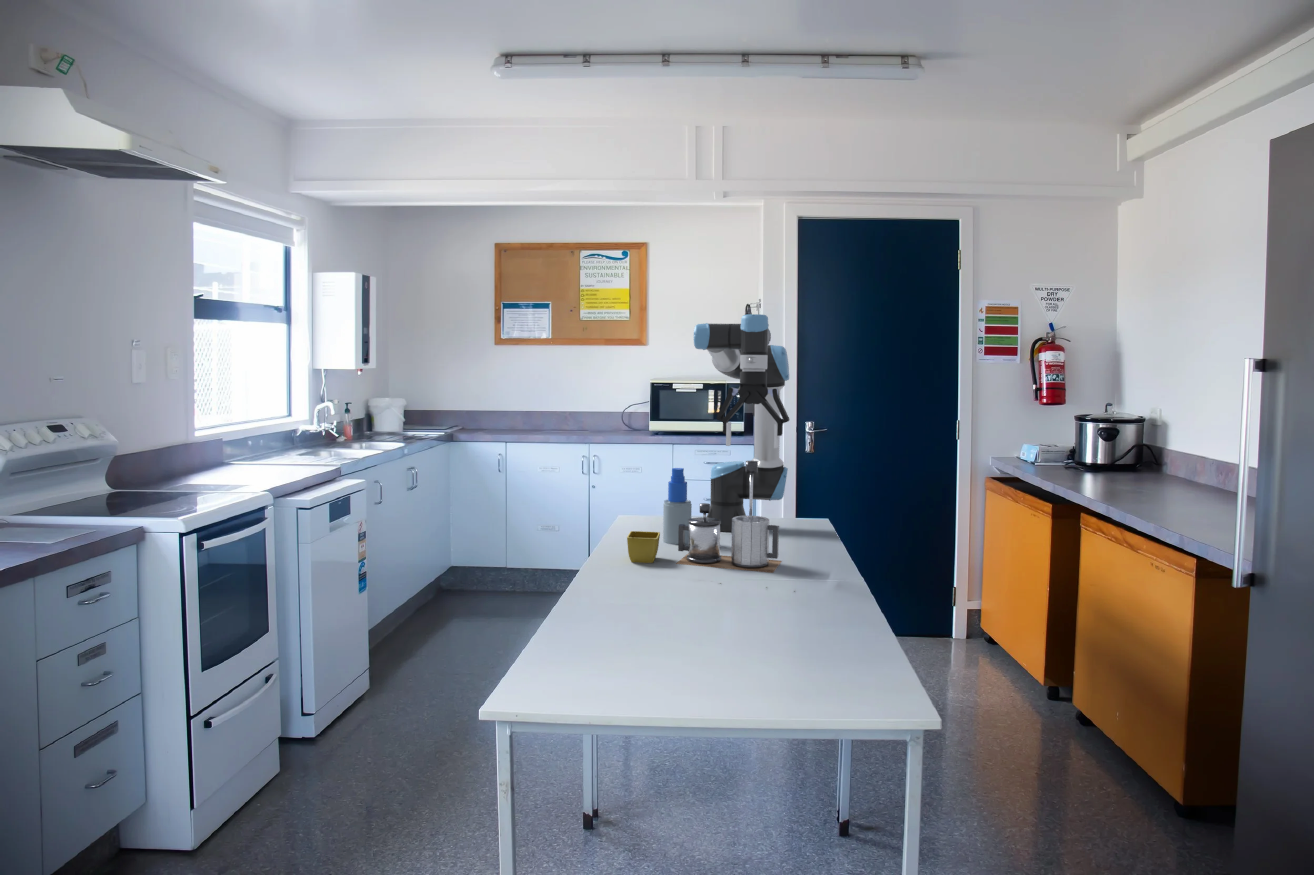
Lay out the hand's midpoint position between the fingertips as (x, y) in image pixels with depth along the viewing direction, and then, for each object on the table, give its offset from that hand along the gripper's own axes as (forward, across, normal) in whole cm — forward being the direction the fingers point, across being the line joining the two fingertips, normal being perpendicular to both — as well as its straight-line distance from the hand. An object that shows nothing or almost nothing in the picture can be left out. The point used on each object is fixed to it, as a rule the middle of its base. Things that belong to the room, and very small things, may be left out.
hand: (752, 446), depth 226 cm
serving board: (+35, -6, 0) cm, 36 cm away
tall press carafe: (+34, +1, 0) cm, 34 cm away
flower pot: (+35, -30, -6) cm, 47 cm away
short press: (+34, -15, 0) cm, 37 cm away
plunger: (+23, 0, 0) cm, 23 cm away
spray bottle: (+35, -28, +20) cm, 49 cm away
